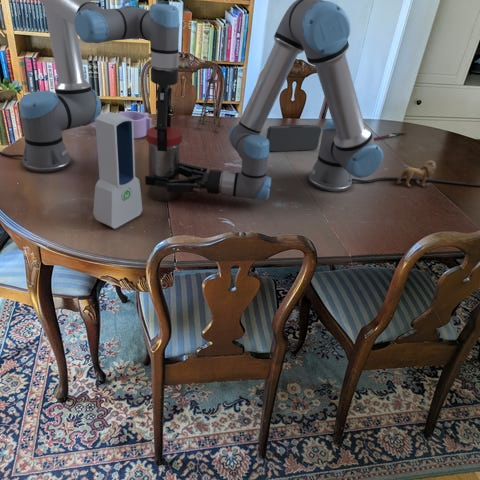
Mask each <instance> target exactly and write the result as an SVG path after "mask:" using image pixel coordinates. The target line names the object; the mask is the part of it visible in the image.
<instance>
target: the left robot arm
mask: <svg viewBox="0 0 480 480" xmlns="http://www.w3.org/2000/svg"><path fill="white" fill-rule="evenodd" d="M37 1H38V2H40V3H41V4H43V6H44V11H45V18H46V23H47V28H48V33H49V38H50V44H51V49H52V55H53V59H54V60H53V61H54V65H55V71H56V75H57V81H58V82H57V83H56V85H55V86H54V91H55V92H54V91H51V90H41V91H40V90H37V91H32V92H29V93H26V94H24V95H23V96H22V97H21V98H20V100H19V103H18V104H19V116H20V119H21V125H22V132H23V137H24V148H23V153H22V154H9V153H4V152H2V151H0V155H1V156H4V157H8V158H21V159H22V160H21V161H22V166H23V168H24V169H25V170H27V171H29V172H33V173H39V174H46V173H56V172H61V171H63V170H66V169H67V168H69V167H70V166H71V163H72V159H71V155H70V153H69V151H68V150H67V149H68V148H67V147H66V145H65V143H64V140H63V132H64V131H68V130H72V129H76V128H80V127H86V126H88V125H90V124H93V123H94V124H95V118H96V117H98V116H99V115H100V114H102V101H101V98H100V96H98V95H99V94H98V92H97V91H96V90H94V89H93V88H92V86H91V83H89V82H88V80H86V77H85V72H84V71H85V69H84V64H83V58H82V52H81V46H80V40H81V41H82V42H83V43H87V44H93V43H94V44H101V43H105V42H114V41H125V40H133V39H134V40H135V39H141V40H144V41H148V42H149V43H150V44H149V45H150V47H149V49H150V53H148V55H147V57H148V58H150V66H151V67H150V81H151V82H152V83H153V84H156V85H158V87H157V89H156V104H157V105H156V107H157V108H156V126H154V127H155V129H156V130H157V151H167V127H172V115H174V110H172V109H173V108H172V93H173V88H172V86H174V85H176V84H178V82H179V69H178V68H179V63H180V61H179V57H180V52H179V42H180V41H179V39H180V25H181V24H180V15H179V14H180V12H179V8H178V7H177V6H175V5H172V4H166V3H152V4H151V5H149V6H150V7H149V9H147V8H142V7H138V6H136V5H122V6H121V7H120V8H103V7H100V6H99V5H97V4H96V3H94V2H92V1H91V0H37Z"/></svg>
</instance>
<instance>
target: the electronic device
mask: <svg viewBox="0 0 480 480" xmlns="http://www.w3.org/2000/svg"><path fill="white" fill-rule="evenodd" d="M116 113H117V112H112V111H106V112H103V113H102V112H101V115H99V116H98V117H96V118H95V122H94V124H95V136H96V137H95V139H96V150H97V163H98V174H99V175H98V176H99V179H98V180H97V182H96V184H95V186H94V198H93V211H92V214H93V216H94V218H95V220H96V221H97V222H99V223H102V224H104V225H105V226H108V227H110V228H112V229H114V230H116V229H117V228H119V227H121V226H123V225H125V224H126V223H129V222H130V221H132V220H133V219H136V218H137V217H139V216H141V214H142V212H143V202H142V192H141V191H142V190H141V184H140V183H141V182H140V178H138V177H136V161H135V160H136V159H135V158H136V157H135V156H136V155H135V138H134V125H133V119H131V118H128V117H125V116H122V115H119V114H116Z"/></svg>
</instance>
